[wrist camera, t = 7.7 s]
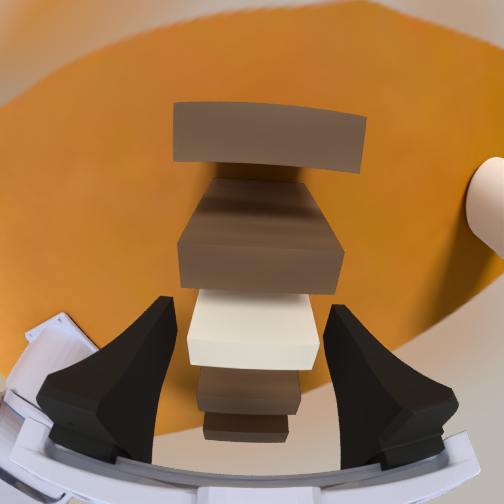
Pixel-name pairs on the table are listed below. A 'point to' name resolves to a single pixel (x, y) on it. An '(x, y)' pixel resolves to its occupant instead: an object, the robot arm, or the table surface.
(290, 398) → the domino
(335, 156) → the domino
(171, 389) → the table surface
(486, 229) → the can
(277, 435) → the domino
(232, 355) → the domino
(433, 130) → the table surface
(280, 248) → the domino
